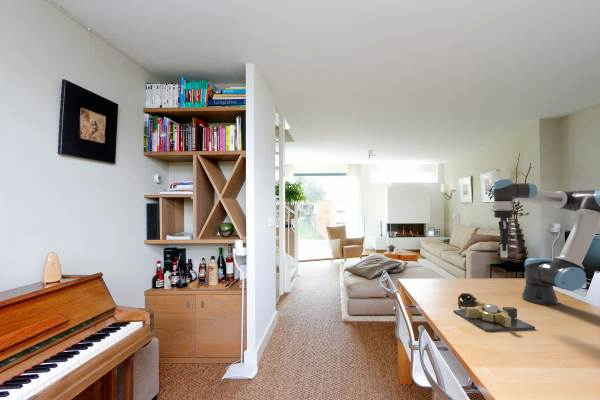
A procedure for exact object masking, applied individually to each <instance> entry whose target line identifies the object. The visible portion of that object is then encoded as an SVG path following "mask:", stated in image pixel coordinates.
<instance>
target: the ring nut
mask: <svg viewBox="0 0 600 400" xmlns="http://www.w3.org/2000/svg"><path fill="white" fill-rule="evenodd" d="M485 304H486V303H485V302H483V301H481V300H479V299H477V300H474V306H469V307H468V306H467V307H465V310H466V316H467V317H468V318H480V319H483V320H487V321H491V322H498V323H500V324H501V325H503V326H505V327H511V318H517V319H518V308H517V307H514V306H502V308H500V307H498V313H489V312H485Z"/></svg>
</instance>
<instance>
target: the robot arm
mask: <svg viewBox="0 0 600 400" xmlns="http://www.w3.org/2000/svg"><path fill="white" fill-rule="evenodd" d="M491 196H492V197H493V209H494V212H493V215H494V216H493V217H494V218H495V219H499V220H498V222H497V223H498V230H499V245H500V257H501V258H506V259H507V258H508V256H509V255H508V250H509V249H508V244H509V242H508V241H509V240H508V239H509V238H508V237H509V236H508V235H509V232H508V231H509V225H510V223H509V221H508V219H512V218H513V210H512V209H513V206H514V205H515V203H513V201H518V202H525V203H532V204H538V205H545V206H552V207H553V208H555V209H560V210H566V211H571V212H576V213H577V218H576V219H575V222H574V224H573V226H572V229H571V230H570V231H569V232H570V233H569V235H568V237H567V238H566V241H565V243H564V245H563V248H562V250H561V251H560V254H559V255H558V256H555V257H554V258H553V259H552V258H540V257H537V258H535V257H534V258H533V257H531V258H530V257H529V258H526V259H525V262H524V264H525V265H524V268H525V270H524V272H525V273H524V274H525V286H524V288H523V291H522V294H521V298H522V300H524V301H527V302H530V303H533V304H538V305H545V306H546V305H547V306H556V305H558V303H559V299H558V297H557V295H556V292H555V290H554V287H556V288H558V289H561V290H565V291H570V292H571V291H578V290H580V289H582V287H584V286H585V284H586V283H587V277H586V276H587V274H586V272H585V271H584V270H585V267H584V264H582V263H583V261H584V259H585V257H586V255H587V253H588V251H589V248H590V247H591V244H592V242H593V240H594V237H595V236H596V234H597V231H598V230H599V228H600V188H599V189H587V190H585V189H584V190H583V189H582V190H571V191H570V190H569V191H564V190H558V191H550V190H544V189H543V190H542V189H538V186H537V185H536V184H535V183H530V182H525V183H523V182H522V183H521V182H519V183H517V182H515V183H513V181H512V178H511V179H510V178H509V179H508V178H500V179H494V182H493V187H492V189H491Z"/></svg>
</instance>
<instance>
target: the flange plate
mask: <svg viewBox="0 0 600 400" xmlns="http://www.w3.org/2000/svg"><path fill="white" fill-rule="evenodd" d="M498 308H499V307H498V306H497V305H495V304H492V303H485V312H489V313H498ZM453 313H454V314H456V315H457V316H459V317H460V318H463V319H465V320H466V321H468V322H469V323H471V324H472V325H474V326H476V327H477V328H479V329H480V330H482V331H484V332H505V331H506V332H509V331H530V330H531V331H533V330H536V326H534V325H532V324H530V323H527V322H525V321H523V320H521V319H519V318H518V317H517V318H511V327H505V326H503V325H501V324H500V323H498V322H491V321H487V320H483V319H480V318H468V317H467V316H466V309H453Z"/></svg>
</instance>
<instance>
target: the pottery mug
mask: <svg viewBox="0 0 600 400" xmlns="http://www.w3.org/2000/svg"><path fill="white" fill-rule="evenodd" d="M474 300H478V299H477V297H475V296H473V294H472V293H467V292H462V293H460V295H458V297H457V306H458V308H466V307H474Z"/></svg>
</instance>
